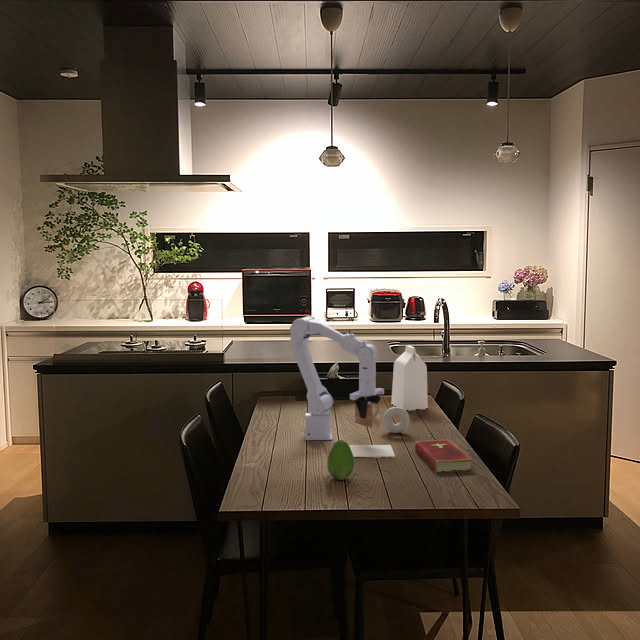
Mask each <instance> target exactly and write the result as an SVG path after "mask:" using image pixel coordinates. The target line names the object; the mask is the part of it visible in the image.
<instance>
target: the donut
mask: <svg viewBox="0 0 640 640" xmlns="http://www.w3.org/2000/svg"><path fill="white" fill-rule="evenodd" d="M382 416H383V417H382V424H383V427H384V429H385V430H387V431H388V432H389V433H391V434H392V433H393V434H398V433H402V432H404V431H406V429H407V428H408V427H409V425H410V421H411V419H410V415H409V413H408V411H406V410H405V409H403V408H401V407H395V406H392V407H390V408H388V409H386V410H385V412H384V414H383V415H382ZM394 417H399V418H400V419H399V420H400V421H399V422H398V423H394V422H393V418H394Z"/></svg>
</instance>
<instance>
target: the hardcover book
mask: <svg viewBox="0 0 640 640" xmlns="http://www.w3.org/2000/svg"><path fill="white" fill-rule="evenodd" d="M414 451H415V452H416V454H418V456H419V457H420V456H421V457H422V458H421V457H420V458H421V459H422V460H423V461H424V462H425V463H426V464H427V465H428V466H429V467H430V468H431V469H432V470H433V471H434V472H435V473H442V472H441V471H445V472H451V471H450V470H462V471H467V470H466V469H472V461H474V460H473V458H471V457H470V456H469V455H468V454H467V453H466V452H464V451H463V450H462V449H461V448H460V447H458V445H456V444H455V443H454V442H452V441H451V440H450V439H436V440H435V439H434V440H432V439H431V440H430V439H429V440H416V441H415V442H414Z"/></svg>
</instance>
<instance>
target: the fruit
mask: <svg viewBox="0 0 640 640" xmlns="http://www.w3.org/2000/svg"><path fill="white" fill-rule="evenodd" d="M349 445H350V444H348V443H347V442H346V441H345V440H342V439H339V440H336V441H335V442H334V443H333V445H332V447H331V449H330V451H329V453H328V456H327V460H326V461H327V462H326V466H327V471H328V473H329V474H330V475H331V476H332V478H334V479H336V480H337V481H342V480H345V479H348V478H349V477H350V475H352V473H353V471H354V468H355V458H354V457H353V454H352V451H351V449H350V447H349Z"/></svg>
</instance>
